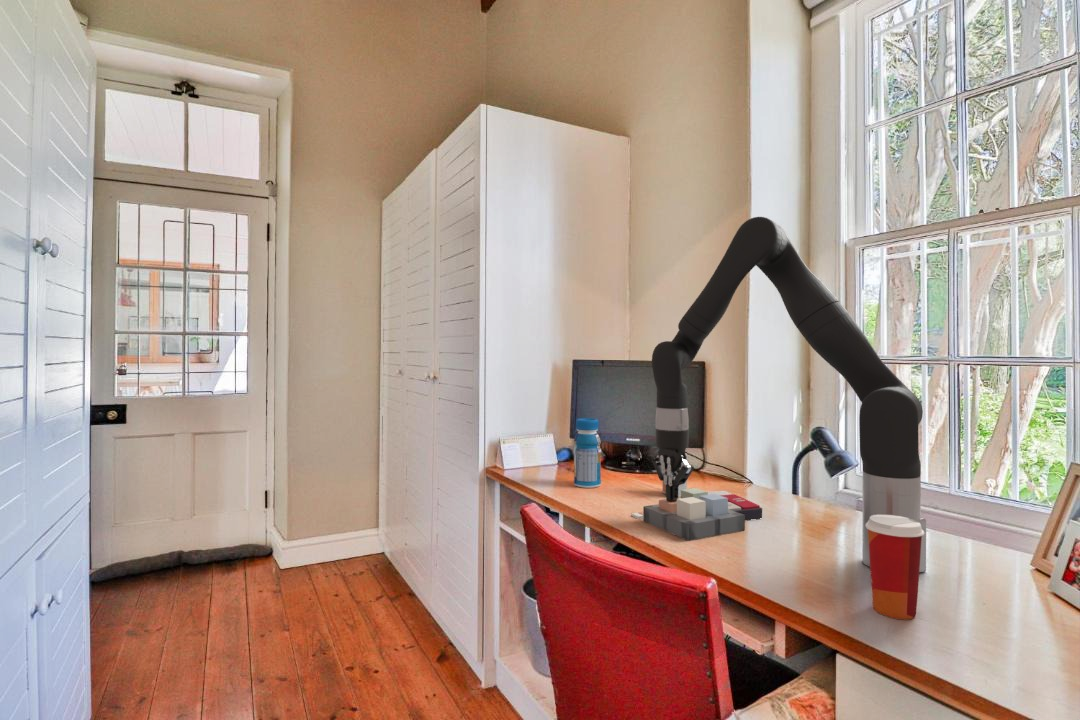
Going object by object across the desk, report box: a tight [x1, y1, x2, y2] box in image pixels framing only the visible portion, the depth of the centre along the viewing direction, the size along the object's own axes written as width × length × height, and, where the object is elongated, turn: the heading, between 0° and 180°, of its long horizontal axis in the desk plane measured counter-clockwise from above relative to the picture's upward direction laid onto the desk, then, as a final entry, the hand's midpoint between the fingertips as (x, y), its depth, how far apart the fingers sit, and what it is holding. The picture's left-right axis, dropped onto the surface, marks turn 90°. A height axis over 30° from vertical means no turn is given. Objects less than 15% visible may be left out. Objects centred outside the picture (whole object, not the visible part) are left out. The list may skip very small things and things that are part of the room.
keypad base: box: [642, 503, 746, 542], centre depth 132 cm, size 16×16×4 cm
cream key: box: [677, 497, 706, 520], centre depth 127 cm, size 4×4×4 cm
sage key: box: [680, 487, 709, 499], centre depth 136 cm, size 4×4×4 cm
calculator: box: [707, 490, 763, 521], centre depth 143 cm, size 11×4×15 cm
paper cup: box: [865, 515, 924, 621], centre depth 88 cm, size 8×8×14 cm
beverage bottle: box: [572, 417, 602, 489], centre depth 173 cm, size 8×8×20 cm
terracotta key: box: [658, 498, 677, 513], centre depth 133 cm, size 4×4×4 cm
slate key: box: [699, 494, 728, 516], centre depth 130 cm, size 4×4×4 cm
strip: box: [630, 511, 643, 520], centre depth 142 cm, size 3×16×1 cm, turn 116°
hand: (671, 501), depth 133 cm, fingers closed
